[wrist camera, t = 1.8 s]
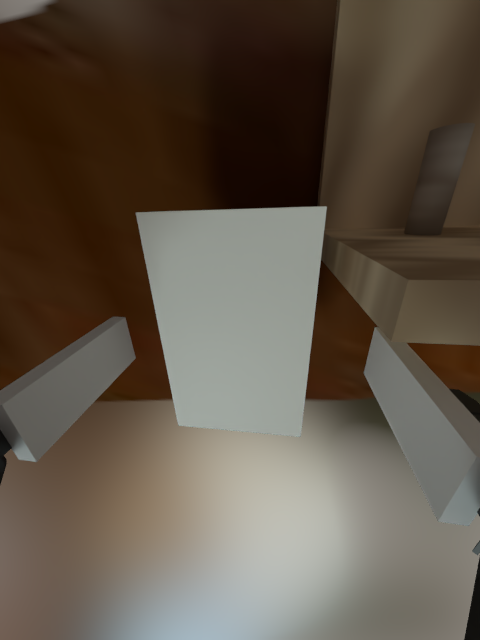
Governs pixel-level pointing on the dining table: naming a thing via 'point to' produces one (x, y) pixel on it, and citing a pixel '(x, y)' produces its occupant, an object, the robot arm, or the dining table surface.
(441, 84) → the shelf bay
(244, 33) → the dining table surface
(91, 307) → the dining table surface
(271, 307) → the white flat block
